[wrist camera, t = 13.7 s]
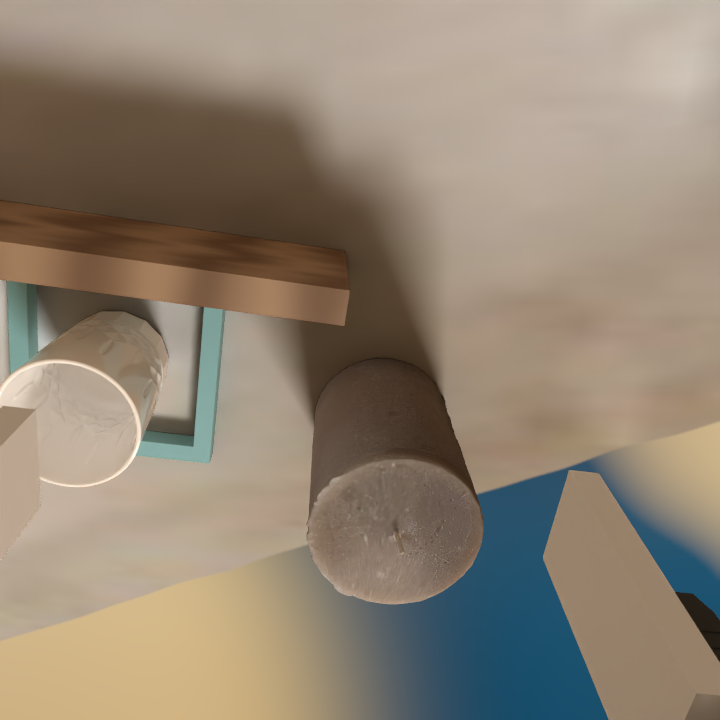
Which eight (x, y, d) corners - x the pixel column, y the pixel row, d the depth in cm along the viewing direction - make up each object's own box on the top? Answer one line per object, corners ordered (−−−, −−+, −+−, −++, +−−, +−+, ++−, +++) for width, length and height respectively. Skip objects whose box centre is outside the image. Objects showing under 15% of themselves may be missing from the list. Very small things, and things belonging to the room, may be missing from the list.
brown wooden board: (-107, 216, 41) (-216, 250, 33) (-110, 184, 40) (-223, 209, 32) (340, 280, 44) (344, 326, 36) (345, 251, 43) (349, 290, 35)
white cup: (136, 428, 48) (92, 511, 38) (37, 364, 45) (-36, 436, 36) (200, 348, 46) (168, 415, 36) (99, 277, 43) (38, 330, 34)
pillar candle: (471, 396, 48) (529, 520, 34) (399, 496, 51) (424, 648, 37) (356, 332, 46) (367, 437, 32) (287, 440, 49) (270, 580, 35)
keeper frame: (22, 431, 47) (13, 441, 46) (15, 246, 42) (5, 252, 41) (212, 452, 49) (209, 463, 47) (228, 276, 44) (225, 282, 42)
